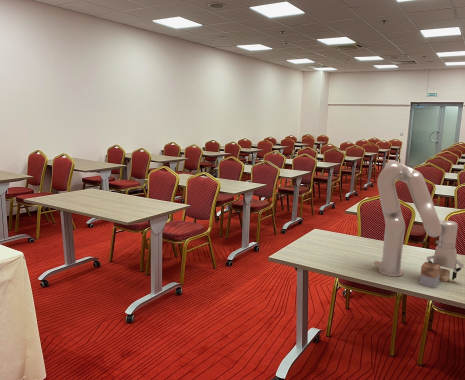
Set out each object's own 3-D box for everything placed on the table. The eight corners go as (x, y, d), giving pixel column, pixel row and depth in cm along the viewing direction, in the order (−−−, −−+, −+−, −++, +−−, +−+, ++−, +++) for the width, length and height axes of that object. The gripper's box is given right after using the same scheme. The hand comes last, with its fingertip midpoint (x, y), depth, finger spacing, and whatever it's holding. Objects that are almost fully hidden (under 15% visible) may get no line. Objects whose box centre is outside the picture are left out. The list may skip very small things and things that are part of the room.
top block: (420, 274, 197) (421, 265, 196) (424, 270, 202) (425, 261, 201) (435, 278, 193) (436, 269, 192) (439, 274, 198) (440, 265, 197)
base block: (419, 284, 198) (420, 274, 197) (423, 279, 203) (424, 270, 202) (434, 288, 193) (436, 278, 193) (438, 283, 199) (439, 274, 198)
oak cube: (436, 279, 204) (437, 270, 203) (438, 276, 208) (439, 267, 207) (446, 281, 201) (447, 272, 200) (449, 278, 205) (450, 269, 204)
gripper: (426, 243, 204) (423, 274, 207) (464, 250, 193) (460, 283, 196) (430, 239, 209) (427, 269, 213) (467, 247, 198) (463, 278, 202)
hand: (443, 276), depth 204 cm, fingers open, 9 cm apart
